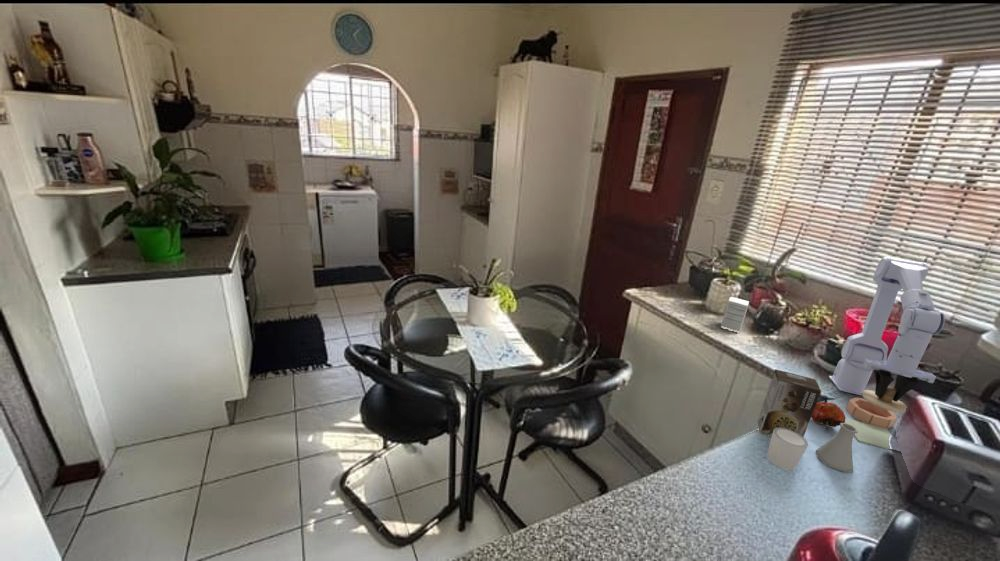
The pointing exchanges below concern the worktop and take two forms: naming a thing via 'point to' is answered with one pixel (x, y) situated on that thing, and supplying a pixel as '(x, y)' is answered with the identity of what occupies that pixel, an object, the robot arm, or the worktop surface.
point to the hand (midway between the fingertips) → (885, 397)
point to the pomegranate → (828, 414)
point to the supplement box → (735, 313)
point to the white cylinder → (786, 448)
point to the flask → (839, 449)
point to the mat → (870, 434)
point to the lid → (885, 400)
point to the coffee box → (788, 403)
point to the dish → (871, 413)
